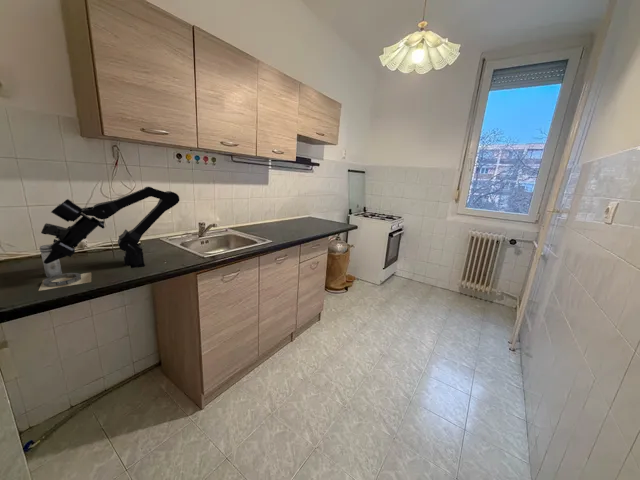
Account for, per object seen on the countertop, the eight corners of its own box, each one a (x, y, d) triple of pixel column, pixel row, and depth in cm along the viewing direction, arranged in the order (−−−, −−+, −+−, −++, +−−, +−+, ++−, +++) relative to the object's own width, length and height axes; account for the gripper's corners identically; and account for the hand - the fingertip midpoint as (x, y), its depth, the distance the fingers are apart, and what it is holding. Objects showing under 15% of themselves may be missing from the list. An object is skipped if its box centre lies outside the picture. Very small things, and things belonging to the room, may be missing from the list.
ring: (81, 274, 97) (81, 271, 97) (80, 282, 90) (80, 279, 90) (46, 279, 91) (45, 276, 91) (42, 288, 84) (41, 285, 84)
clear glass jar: (63, 274, 98) (56, 243, 95) (62, 277, 95) (55, 246, 92) (47, 276, 96) (40, 245, 93) (45, 280, 93) (38, 248, 90)
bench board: (91, 274, 99) (91, 272, 99) (91, 284, 91) (91, 281, 91) (43, 282, 91) (43, 279, 91) (38, 293, 83) (38, 290, 83)
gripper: (59, 212, 99) (23, 242, 95) (54, 220, 86) (12, 255, 81) (89, 229, 106) (57, 259, 102) (89, 239, 93) (52, 273, 88)
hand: (45, 261), depth 93 cm, fingers closed on clear glass jar, 4 cm apart
